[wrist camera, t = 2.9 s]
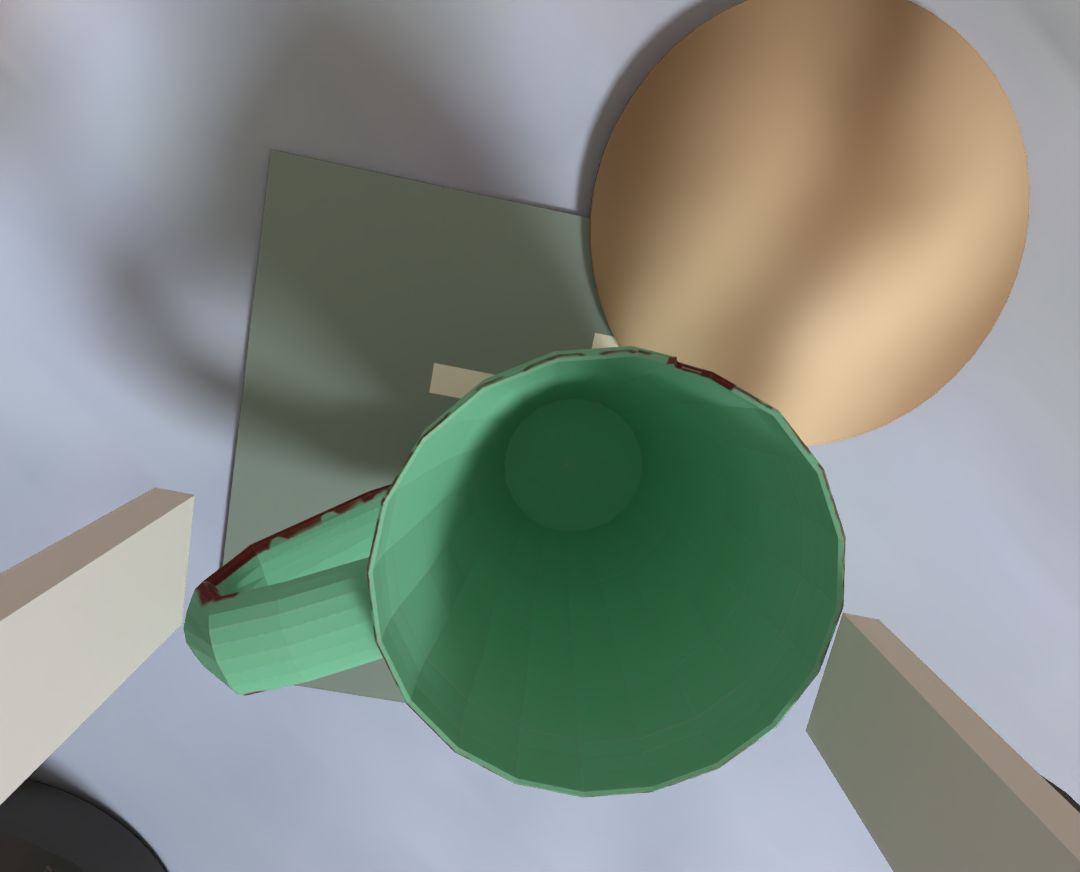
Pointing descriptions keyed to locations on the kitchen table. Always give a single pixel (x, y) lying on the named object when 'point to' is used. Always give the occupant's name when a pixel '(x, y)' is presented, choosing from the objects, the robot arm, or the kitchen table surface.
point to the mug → (562, 576)
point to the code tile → (386, 335)
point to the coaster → (814, 208)
